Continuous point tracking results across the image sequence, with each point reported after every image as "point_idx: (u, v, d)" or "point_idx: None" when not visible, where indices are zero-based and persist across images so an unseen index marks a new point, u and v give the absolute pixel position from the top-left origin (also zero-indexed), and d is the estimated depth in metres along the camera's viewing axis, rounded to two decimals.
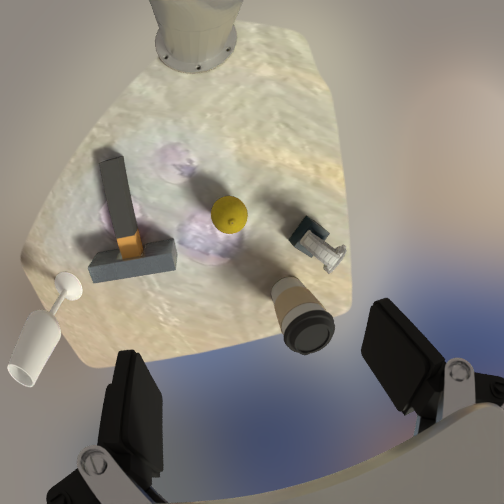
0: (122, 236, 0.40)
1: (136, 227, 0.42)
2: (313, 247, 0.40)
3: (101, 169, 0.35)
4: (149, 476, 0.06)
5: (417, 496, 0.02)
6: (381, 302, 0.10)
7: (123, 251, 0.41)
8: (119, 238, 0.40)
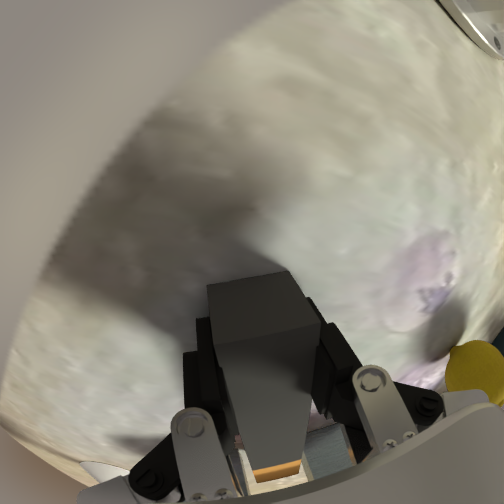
0: (270, 466, 0.13)
1: None
2: None
3: (226, 366, 0.08)
4: (232, 438, 0.07)
5: (417, 496, 0.02)
6: None
7: (263, 477, 0.14)
8: (260, 469, 0.13)
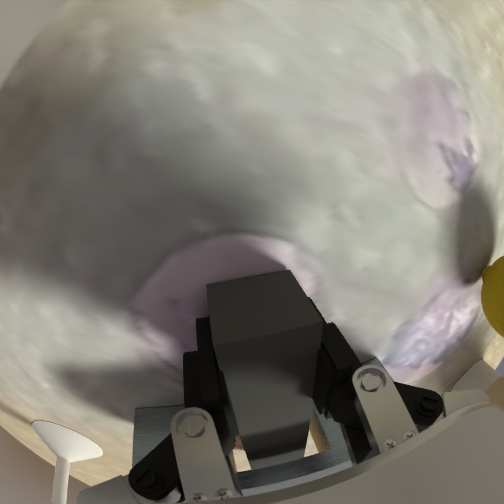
0: None
1: None
2: None
3: (225, 367, 0.08)
4: (232, 438, 0.07)
5: (417, 496, 0.02)
6: None
7: None
8: None
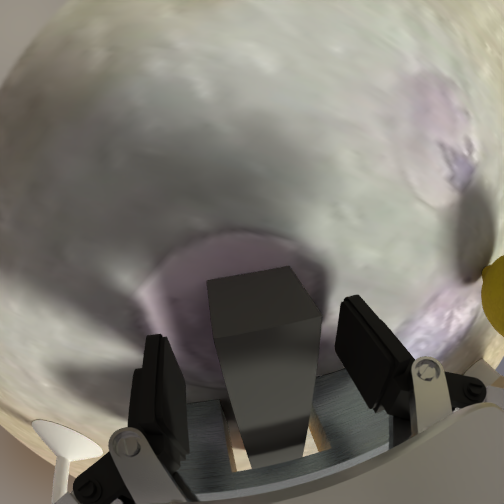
0: None
1: None
2: None
3: (226, 361, 0.08)
4: (178, 458, 0.07)
5: (417, 496, 0.02)
6: (350, 299, 0.10)
7: None
8: None
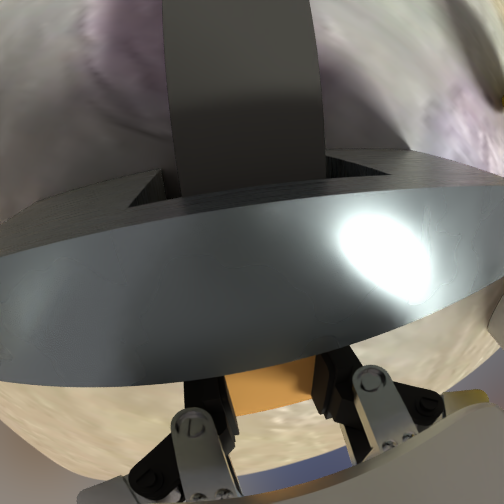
0: None
1: None
2: None
3: None
4: (233, 438, 0.07)
5: (417, 496, 0.02)
6: None
7: (244, 392, 0.09)
8: None
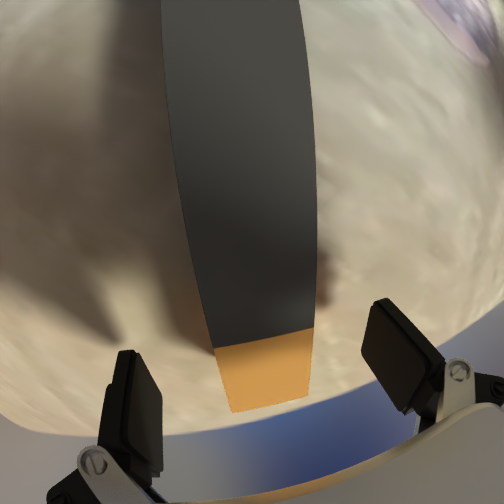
0: (249, 337, 0.08)
1: None
2: None
3: None
4: (149, 476, 0.06)
5: (417, 496, 0.02)
6: (381, 302, 0.10)
7: (241, 389, 0.09)
8: (230, 346, 0.08)
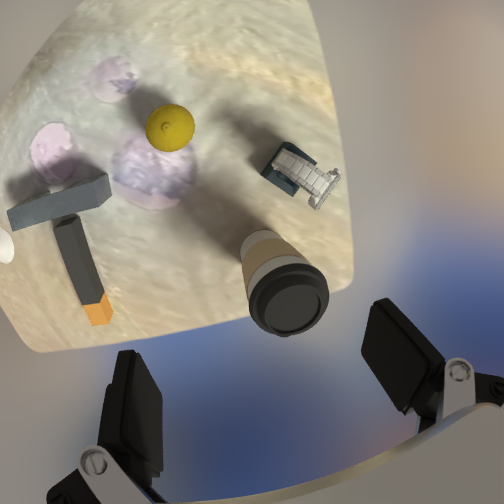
0: (87, 303, 0.35)
1: (102, 291, 0.37)
2: (289, 163, 0.26)
3: (56, 235, 0.30)
4: (149, 476, 0.06)
5: (417, 496, 0.02)
6: (381, 302, 0.10)
7: (91, 317, 0.36)
8: (85, 305, 0.35)
